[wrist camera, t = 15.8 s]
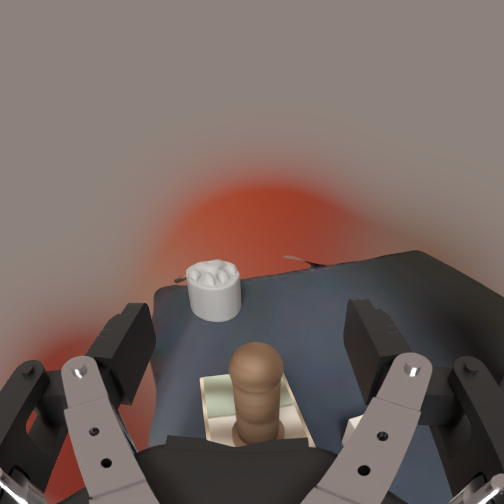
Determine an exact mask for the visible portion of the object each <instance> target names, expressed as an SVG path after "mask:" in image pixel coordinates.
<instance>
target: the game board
mask: <svg viewBox="0 0 504 504" xmlns="http://www.w3.org/2000/svg"><path fill="white" fill-rule="evenodd" d="M200 385H201V395H202V404H203V413H204V422H205V430H206V438H207V440H209V441H212V442H216V443H220V444H224V445H228V446H233V447H236V446H235V445H234V443H233V438H232V427H233V425H234V423H235V422H236V412H235V403H234V395H233V385H232V380H231V378H230V375H229V374H226V375H218V376H210V377H203V378H200ZM279 420H280V421H281V422H282V424H283V425H284V429H285V434H284V439H291V438H305V437H308V442H309V447H315V444H314V442H313V440H312V437H311V435H310V433H309V431H308V428H307V426H306V424H305V421H304V419H303V417H302V415H301V412H300V410H299V408H298V405H297V403H296V401H295V398H294V396H293V394H292V391H291V389H290V387H289V384H288V382H287V380H286V377H285V375H284V373H283V375H282V378H281V389H280V412H279Z"/></svg>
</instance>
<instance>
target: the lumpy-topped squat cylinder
mask: <svg viewBox="0 0 504 504" xmlns="http://www.w3.org/2000/svg"><path fill="white" fill-rule="evenodd" d="M186 276H187V283H188V291H189V298H190V305H191V308H192V311H193V313H194V314H195V315H197V316H198V317H200V318H202V319H205V320H208V321H213V322H223V321H227V320H230V319H231V318H233V317H234V316H236V315H237V314H238V312H239V311H240V309H241V306H242V305H241V287H240V274H239V272H238V270H237V269H236V266H235V265H234V264H232V263H229V262H226V261H221V260H212V261H206V262H198V263H196V264H195V265H192V266H190V267H189V268H188V269H187V271H186Z"/></svg>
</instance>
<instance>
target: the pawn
mask: <svg viewBox="0 0 504 504" xmlns="http://www.w3.org/2000/svg"><path fill="white" fill-rule="evenodd" d="M229 375H230V378H231V380H232V385H233V395H234V403H235V412H236V422H235V423H234V425H233V427H232V438H233V443H234V445H235V446H236V447H240V446H245V445H250V444H255V443H259V442H264V441H268V440H272V439H284V434H285V429H284V425H283V424H282V422H281V421H280V420H279V412H280V389H281V378H282V375H283V361H282V359H281V356H280V355H279V353H278V352H277V351H276V350H275V349H274V348H273V347H271V346H270V345H268V344H265V343H262V342H251V343H247V344H244V345H242V346H241V347H239V348H238V349H237V350H236V351H235V352H234V353H233V355H232V357H231V359H230V362H229Z"/></svg>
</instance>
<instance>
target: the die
mask: <svg viewBox="0 0 504 504" xmlns="http://www.w3.org/2000/svg"><path fill="white" fill-rule="evenodd" d="M362 416H363V415H361V416H358V417H355V418H352V419H349V421H348V424H347V428H346V431H345V434H344V437H343V440H342V444H343V446H345V444H346V443H347V441H348V439H349V438H350V436H351V435H352V433H353V431H354V430H355V428H356V426H357V425H358V423H359V421H360V420H361V418H362Z"/></svg>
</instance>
